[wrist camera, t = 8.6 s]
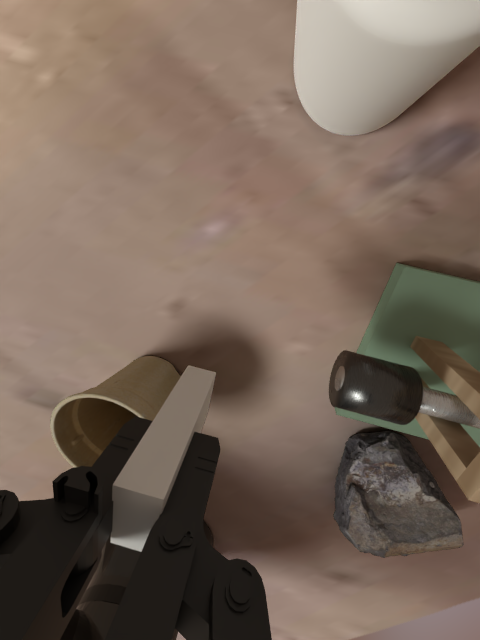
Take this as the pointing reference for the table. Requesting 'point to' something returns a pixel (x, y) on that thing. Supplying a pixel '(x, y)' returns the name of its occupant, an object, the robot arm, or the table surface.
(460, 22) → the beverage can
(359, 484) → the rock
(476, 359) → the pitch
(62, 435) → the flower pot
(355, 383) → the rod
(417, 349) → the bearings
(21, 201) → the table surface
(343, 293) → the table surface
